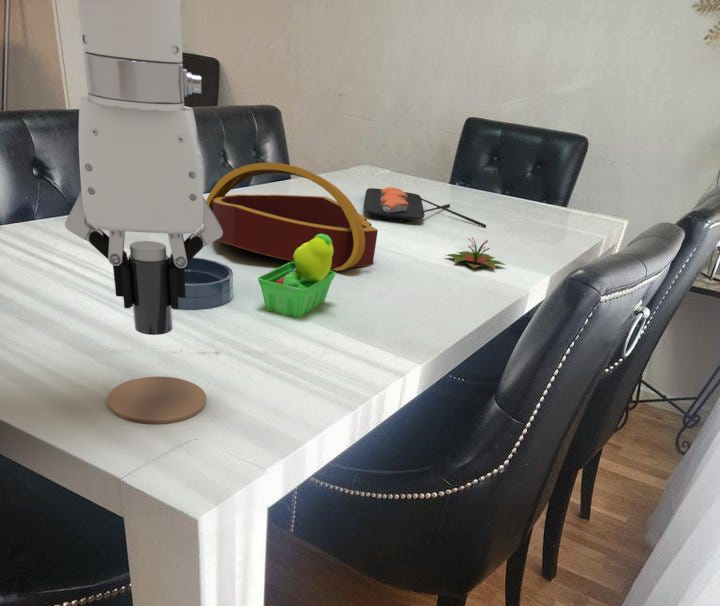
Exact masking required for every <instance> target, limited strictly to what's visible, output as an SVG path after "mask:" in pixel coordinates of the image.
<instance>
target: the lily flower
mask: <svg viewBox="0 0 720 606" xmlns="http://www.w3.org/2000/svg"><path fill="white" fill-rule="evenodd" d="M471 239H472V240H473V241H472V240H471ZM467 240H469V242H471V243H472V244H471V246H470V245H468V248H469V249H470V250H471V251H472V252H471V251H469V250H464V251H457V253H449V254H446V256H447V257H452V258H454V261H453V263H458V262H462V261H464V262H465V264H468V265H469V266H470V267H471V268H473V269H475V268H478V267H482V266H484V265H487V266H489V267H490V268H492V269H494V270H496V265H503V266H507V264H506V263H504V262H502V261H501V260H500V261H499V260H495V259H496V257H495V256H492V255H490V254H487V253H485V252H486V251H488V250H490V247H487V248H486V246H484V245H485V244H487V243H488V241H489V240H488V239H486V240H485V241H484V242H483V243H482V244H481V245H480V247H479V248H478V247H477V243H476V241H475V239H474V237H473V236H472V237H471V238H467Z"/></svg>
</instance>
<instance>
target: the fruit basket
mask: <svg viewBox="0 0 720 606" xmlns="http://www.w3.org/2000/svg"><path fill="white" fill-rule="evenodd" d="M332 256H333V246H332V240H331V238H330V237H329V236H328V235H324V234H318V235H316V236H315V237H314V239H312V240H310V241H309V242H307V243H304V244H302V245H301V246H300V247H298V248H297V249H296V250H295V252H294V255H293V258H294V261H290V262H287V263H284V264H283V265H281V266H279V267H277V268H275V269H272V270H271V271H269V272H267V273H265V274H262V275H260V276H258V277H257V281H258V284H259V286H260V289H261V292H262V297H263V301H264V306H265V309H266V311H268V312H274V313H277V314H280V315H284V316H289V317H293V318H296V319H300V318H302V317H303V316H304V315H305V314H308V313H309V312H311V311H312V310H313V309H315V308H317V307H318V306H319V305H321V304H323V303H325V301H326V298H327V295H328V292H329V290H330V287H331V284H332V281H333V280H334V278H335V276H336V272H337V271H335V270H330V268H331V264H332Z"/></svg>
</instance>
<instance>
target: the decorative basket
mask: <svg viewBox="0 0 720 606" xmlns="http://www.w3.org/2000/svg"><path fill="white" fill-rule="evenodd" d="M267 174H282V175H291V176H297V177H301V178H303V179H307V180H308V181H311V182H313V183H315V184H317V185H318V186H319V187H321V188H323V189H324V190H325V191H326V192H328V193H329V194H330V196H332V198H334V199H332V198H330V197H328V196H322V195H321V196H320V195H318V196H317V195H297V194H292V195H291V194H240V193H239V194H230V195H229V194H228V193H229V192H230V191H231V190H232V189H234V188H235V187H236V186H238V185H239V184H241V183H242V182H244V181H245V180H247V179H250V178H252V177H255V176H260V175H267ZM227 194H228V195H227ZM205 200H206V202H207V204H208V205H209V207H210V209H211V210H212V212H213V214H214V215H215V217H216V219H217V220H218V222H219V224H220V225H221V227H222V231H223V235H222V237H221V238H219V239H217V240H216V241H217V242H220V243H223V244H226V245H230V246H234V247H237V248H240V249H243V250H245V251H246V250H247V251H250V252H253V253H257V254H259V255H260V254H261V255H264V256H268V257H273V258H276V259H281V260H286V261H290V262H294V258H293V255H294V252H295V250H296V249H297V248H298V247H300V246H301V245H302V244H304V243H307V242H309V241H310V240H312V239H314V237H315V236H316V235H318V234H324V235H328V236H329V237H330V238H331V240H332V246H333V256H332V264H331V268H330V271H335V272H337V271H339V272H340V271H344V270H347V269H349V268H355V267H357V268H358V267H365V266H371V264H372V265H373V264H374V258H375V252H376V247H377V246H376V245H377V238H378V232H379V229H377V228H376V227H374V226H372V222H370V221H368V218H367V217H366V216H364V215H362V214H361V213H358V211H357V209H356V207H355V206H354V204H353V203H352V201H351V200H350V199H349V198H348V196H347V195H346V194H345V193H344V192H342V190H340V188H338V187H337V186H336V185H334V184H333V183H331V182H330V180H327V179H326V178H323V177H322V176H320V175H317V174H315V173H314V172H311V171H309V170H307V169H304V168H301V167H299V166H295V165H292V164H286V163H279V162H257V163H250V164H246V165H242V166H240V167H237V168H235V169H233V170H231V171H229V172H228V173H226V174H225V175H223V176H222V177H221V178H220V179H219V180H218V181H217V182H216V183H215V185H214V186H213V188H212V189H211V191H209V194H208V195H207V197H206V199H205Z"/></svg>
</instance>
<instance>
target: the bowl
mask: <svg viewBox="0 0 720 606" xmlns="http://www.w3.org/2000/svg"><path fill="white" fill-rule="evenodd" d="M168 257H169V261H171V257H170V256H168ZM184 273H185V296H186V298H178V306H179V309H178V310H203V309H206V310H207V309H211V308H212V309H213V308H215V307H216V308H217V307H221V306H224V305H226V304H227V303H229V302H230V301H231V300H232V299H233V297H234V272H233V270H232V269H231V268H230V267H229V266H228V265H226V264H224V263H222V262H219V261H217V260H212V259H208V258H203V257H197V256H196V257H195V256H194V257H193V258H192V259H191V260H190V261H189V262H188V263H187V265H186V267H184Z"/></svg>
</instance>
